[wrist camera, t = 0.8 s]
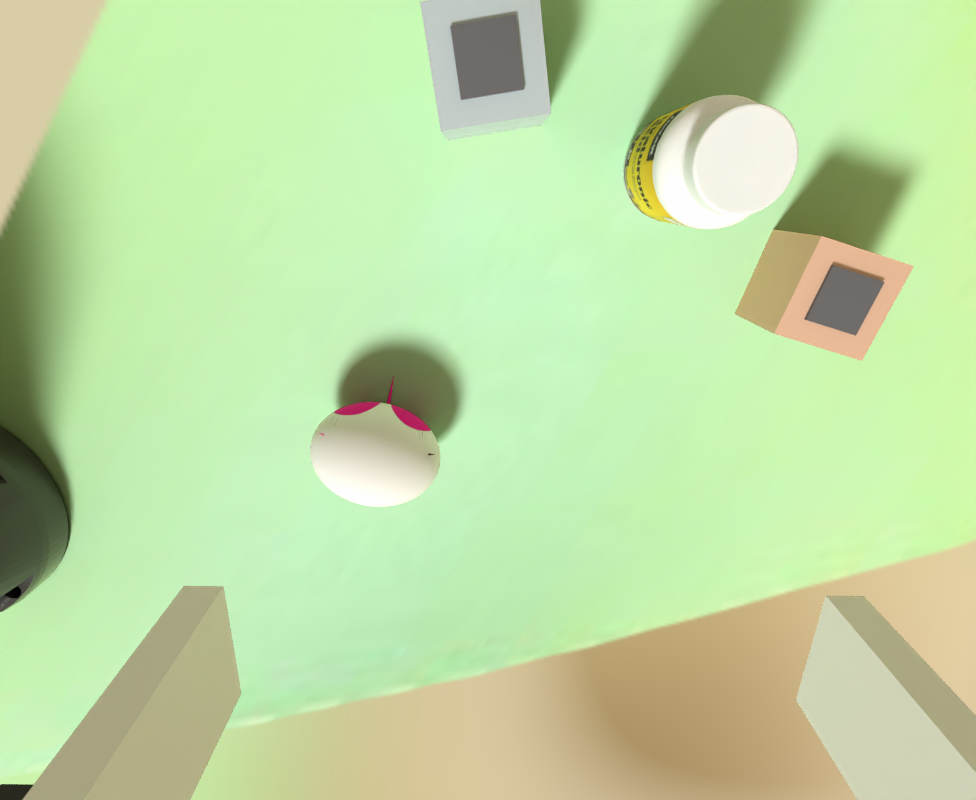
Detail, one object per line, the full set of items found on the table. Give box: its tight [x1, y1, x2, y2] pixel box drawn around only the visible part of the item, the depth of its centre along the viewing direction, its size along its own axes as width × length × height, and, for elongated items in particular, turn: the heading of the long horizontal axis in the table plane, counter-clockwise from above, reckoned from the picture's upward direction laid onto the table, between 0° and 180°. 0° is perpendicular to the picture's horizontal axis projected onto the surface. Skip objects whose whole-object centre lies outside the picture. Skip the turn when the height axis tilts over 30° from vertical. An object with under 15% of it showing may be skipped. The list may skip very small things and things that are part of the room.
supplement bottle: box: [623, 95, 798, 229], centre depth 26 cm, size 5×5×10 cm
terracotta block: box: [735, 229, 914, 360], centre depth 30 cm, size 5×5×5 cm
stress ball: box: [310, 377, 440, 507], centre depth 34 cm, size 8×8×7 cm
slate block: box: [420, 0, 551, 140], centre depth 27 cm, size 5×5×5 cm
